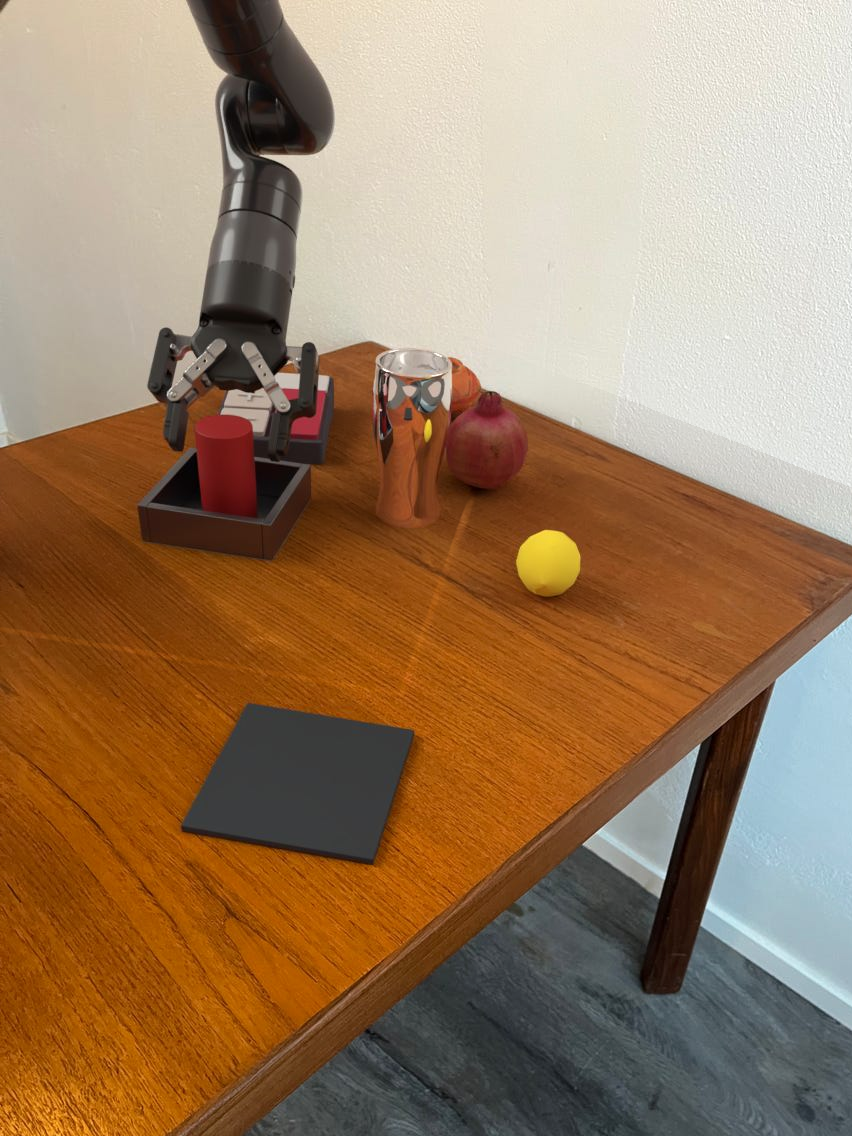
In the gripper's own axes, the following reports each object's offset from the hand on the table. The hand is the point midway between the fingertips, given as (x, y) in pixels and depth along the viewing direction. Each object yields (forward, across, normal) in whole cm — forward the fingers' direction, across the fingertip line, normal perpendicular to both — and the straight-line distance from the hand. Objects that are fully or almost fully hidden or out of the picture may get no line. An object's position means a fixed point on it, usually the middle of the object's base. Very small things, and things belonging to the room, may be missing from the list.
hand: (224, 453), depth 87 cm
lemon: (+9, +29, +1) cm, 30 cm away
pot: (-15, +17, +26) cm, 34 cm away
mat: (+27, +13, -17) cm, 34 cm away
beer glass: (+2, +16, +8) cm, 18 cm away
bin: (+5, 0, +5) cm, 7 cm away
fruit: (-4, +22, +14) cm, 26 cm away
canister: (+4, 0, +5) cm, 7 cm away
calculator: (-9, 0, +19) cm, 21 cm away
